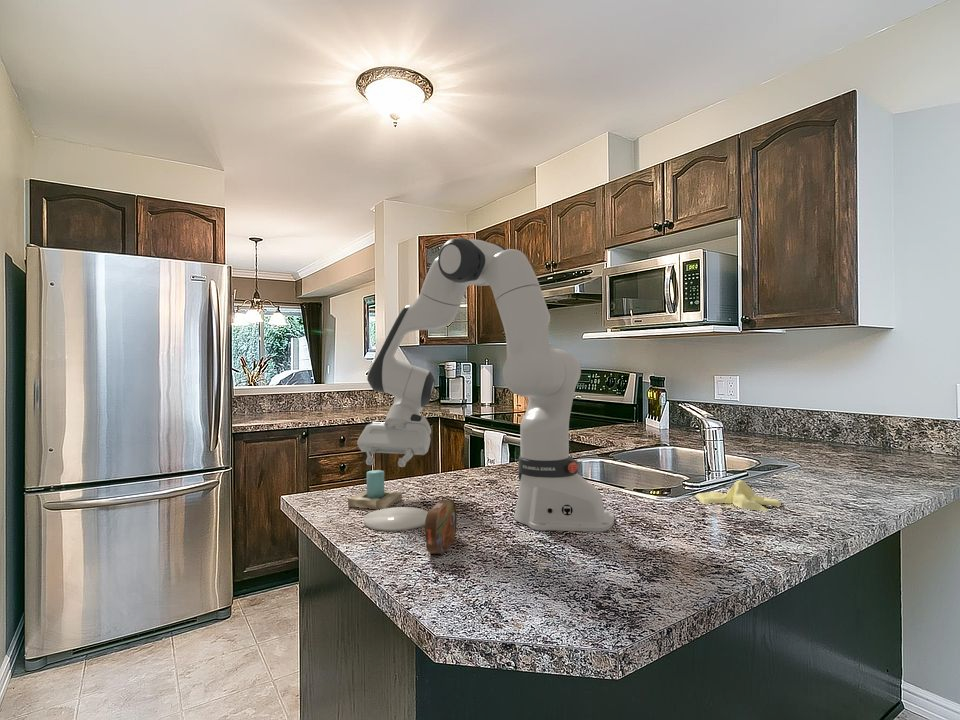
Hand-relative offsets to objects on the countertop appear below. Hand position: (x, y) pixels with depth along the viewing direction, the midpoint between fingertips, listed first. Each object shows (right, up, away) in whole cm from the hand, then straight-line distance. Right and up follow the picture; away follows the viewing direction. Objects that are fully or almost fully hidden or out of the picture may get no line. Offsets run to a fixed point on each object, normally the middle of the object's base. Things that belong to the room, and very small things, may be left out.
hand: (384, 464), depth 146 cm
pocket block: (-1, -9, -5) cm, 10 cm away
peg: (-1, -9, -5) cm, 10 cm away
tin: (+18, -9, -37) cm, 42 cm away
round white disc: (+6, -9, -20) cm, 23 cm away
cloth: (+91, -9, -8) cm, 92 cm away
